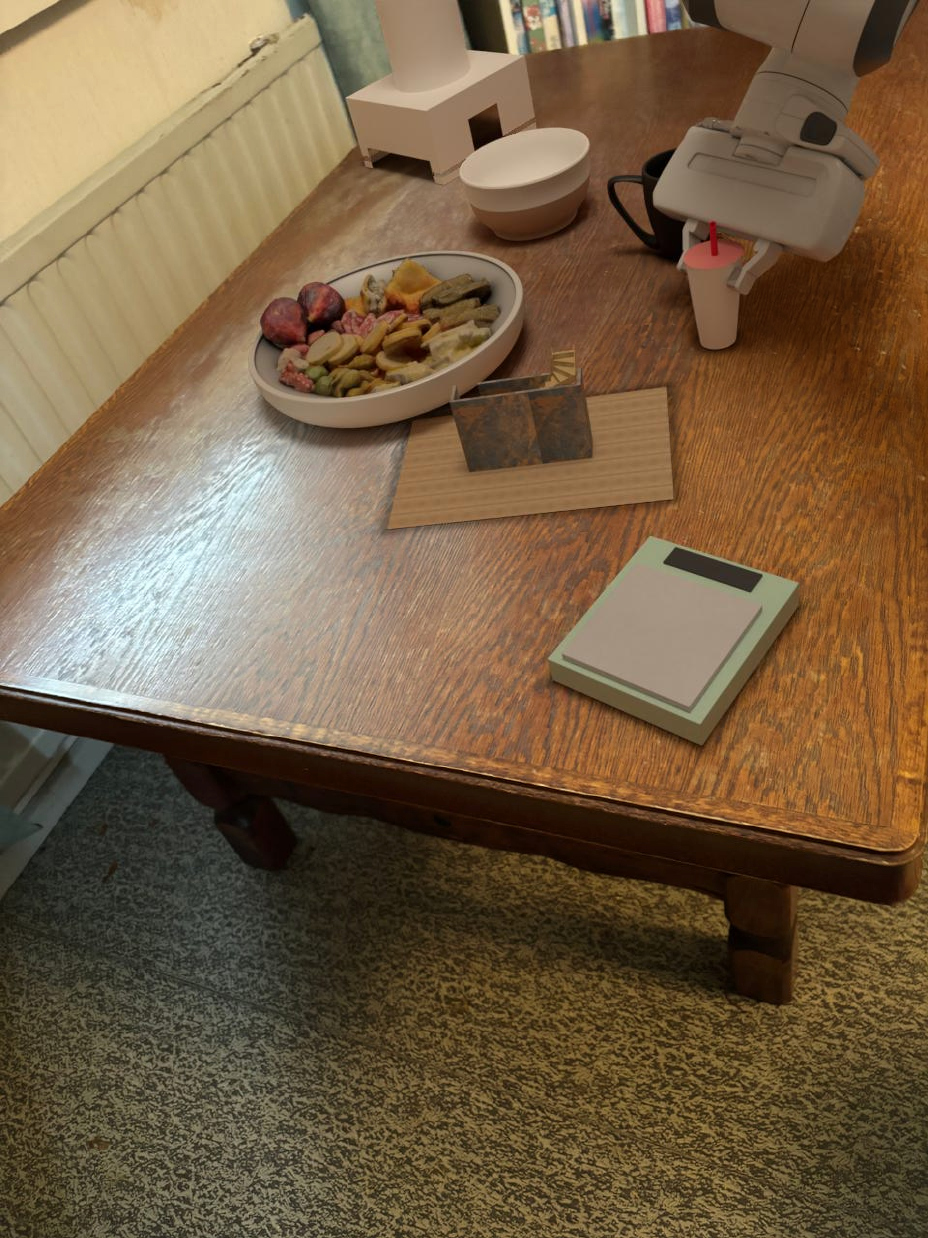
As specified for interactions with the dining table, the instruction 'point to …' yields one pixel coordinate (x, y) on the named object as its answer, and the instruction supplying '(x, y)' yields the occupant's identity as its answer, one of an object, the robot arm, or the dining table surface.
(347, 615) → the dining table surface
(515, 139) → the bowl
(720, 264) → the cup
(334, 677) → the dining table surface
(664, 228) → the mug
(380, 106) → the paper towel holder
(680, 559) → the scale
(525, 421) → the ruin model on sheet
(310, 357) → the bowl
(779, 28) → the robot arm
